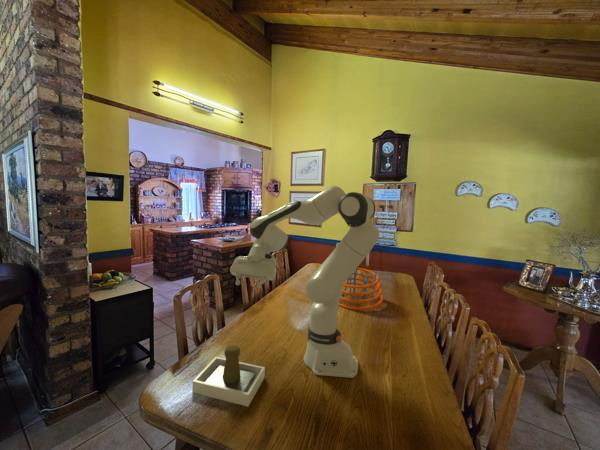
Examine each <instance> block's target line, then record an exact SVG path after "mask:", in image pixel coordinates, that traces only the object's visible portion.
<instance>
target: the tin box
mask: <svg viewBox="0 0 600 450" xmlns="http://www.w3.org/2000/svg"><path fill="white" fill-rule="evenodd" d="M224 367H225V366H222V365H220V366H219V367H218V368H217V369H216V370H215V371H214V373H213V374H212V375H211V376H210V377H209V378H208V379H207V381H206V383H210V384H214V385H219V386H223V387H227V388H231V389H235V390H239V391H243V392H247V391H248V390H249V388H250V386H251V385H252V383H253V381H254V380H255V373H253V372H249V371H244V370H240V379H239V380H238V381H236V382H234V383H226V382H224V381H223V373H224Z"/></svg>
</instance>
